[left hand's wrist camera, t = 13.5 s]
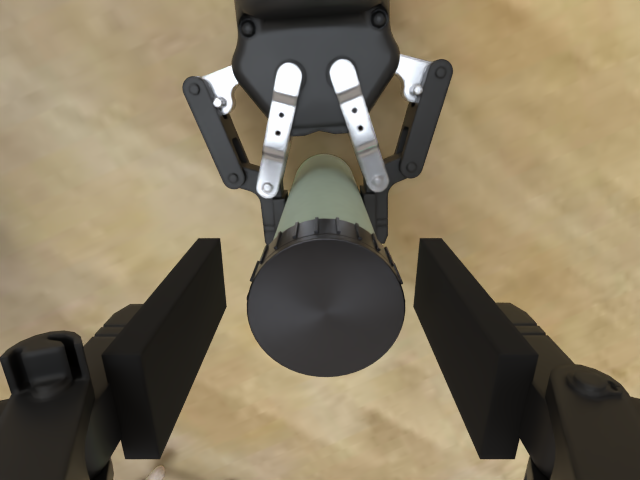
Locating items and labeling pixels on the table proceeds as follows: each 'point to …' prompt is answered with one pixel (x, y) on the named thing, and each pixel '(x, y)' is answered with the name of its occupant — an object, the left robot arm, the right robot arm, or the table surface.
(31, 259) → the table surface
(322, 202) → the jar
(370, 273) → the lid
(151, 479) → the toy
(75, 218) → the table surface
